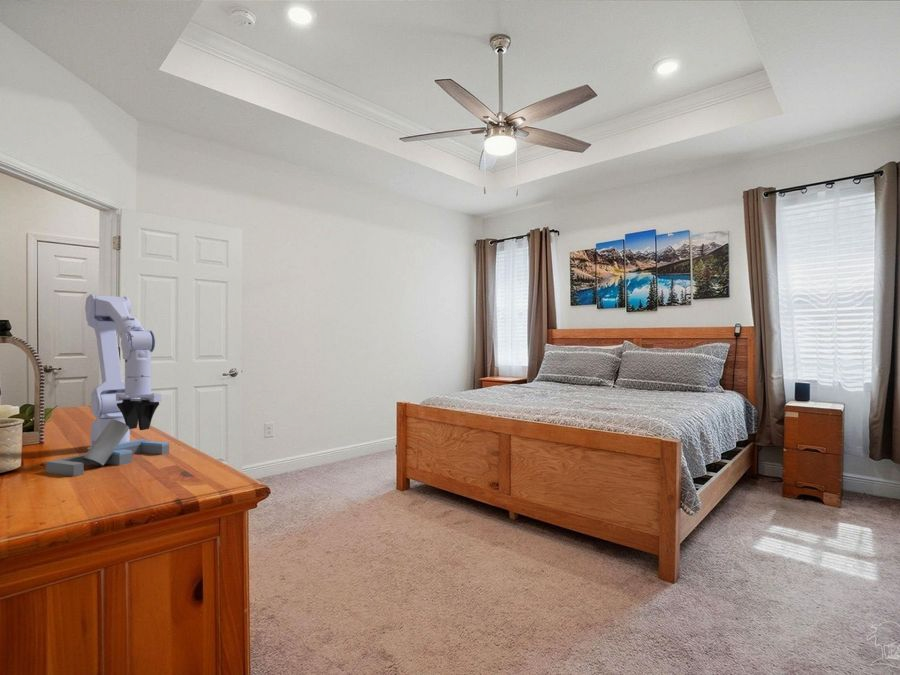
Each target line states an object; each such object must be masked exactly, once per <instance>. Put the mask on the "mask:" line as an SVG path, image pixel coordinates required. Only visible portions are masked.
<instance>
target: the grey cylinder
mask: <svg viewBox="0 0 900 675" xmlns="http://www.w3.org/2000/svg"><path fill="white" fill-rule="evenodd" d="M128 430H129V426H127V425H126V424H124V423H122V422H120V421H117V420H111V421H110V422H109V423H108V425H107V426H106V427H105V429H104V430H103V432H102V433H101V434H100V436H99V437H98V438H97V440H96V441H95V442H94V444H93V445H92V446H91V445H90V447H91V448H90V449H88V451H87V452H86V453H85V454H86V455H85V456H84V458H83V459H84V460H85V461H87V462H89V463H91V464H90V465H94V466H98V467H103V466H104V465H105V464H106V461H107V460H108V458H109V457H110V455H111V454H112V453H113V451H114V450H115V448H116V447H117V445H118V444H119V443H120V441H121V440H122V438H123V437H124V435H125V434H126V433H127V431H128Z"/></svg>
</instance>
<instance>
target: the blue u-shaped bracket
mask: <svg viewBox="0 0 900 675" xmlns="http://www.w3.org/2000/svg"><path fill="white" fill-rule="evenodd" d="M141 444H143V445H154V446H165V445H169V446H170V442H167V441H157V440H155V441H154V440H147V439H143V438H141V439H135V440H130V442H124V443H119V444H118V445H117V447H116V448H115V450H114V451H113V453H112V455H123V454H128V453H132V450H124V449H121V448H126V447H131V446H136V445H141Z"/></svg>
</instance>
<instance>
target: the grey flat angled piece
mask: <svg viewBox="0 0 900 675" xmlns="http://www.w3.org/2000/svg"><path fill="white" fill-rule="evenodd" d="M121 449H124V450H132V453H128V454H123V455H112V454H111V455H110V457H109V458H108V460H107V461H106V463H105V464H107V465H116V466H123V465H126V464H131V463H133V455H135V454H139V453H144V454H152V455H161V456H162V455H167V454H170V444H169V445H165V446H154V445H143V444H141V445H136V446H131V447H126V448H121ZM85 455H86V453H83V454H77V455H75V456H74V455H73V456H68V457H64V458H59V459H53V460H48V461H46V463H45V465H46V466H45V467H46V468H45V472H46V473H48V474H55V475H62V476H63V475H64V476H68V477H69V476H70V477H77V476H81V475H84V470H85V469H84V466H88V465H92V464H91V463H89V462H87V461H85V460H84V459H83V458H84V456H85Z"/></svg>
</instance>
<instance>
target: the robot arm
mask: <svg viewBox="0 0 900 675" xmlns="http://www.w3.org/2000/svg"><path fill="white" fill-rule="evenodd" d="M84 306H85V307H84V308H85V309H84V310H85V319H86V323H87V326H89V327H91V328H93V329H94V333H95V336H96V345H97V351H98V352H97V353H98V359H99V360H98V361H99V369H100V375H101V378H100V379H101V383H100V384H98V386H95V388H94V389H92V391H91V394H90V399H91V400H90V410H91V413H92V415H93V416H94V417H95V419H94V420H93V421H92V422H91V425H90V446H89V447H87V450H89V449H90V448H91V446H92V445H93V444H94V442H95V441H96V440H97V438H98V437H99V436H100V434H101V433H102V432H103V430H104V429H105V427H106V426H107V425H108V423H109V422H110V421H111V420H117V421H120V422H122V423H124V424H126V425H127V426H129V430H128V431H127V433H126V434H125V435H124V437H123V438H122V440H121V441H120V443H124V442H130V441H131V430H134V429H137V428H138V429H139V431H145V430H149V429H150V426H151V423H152V420H153V416H154V414H155V412H156V410H157V408H158V407H159V405H160V402H162V393H156V392H155V393H154V392H152V353H153V352H154V350H155V347H156V337H155V333H154V331H152V330H149V329H144V326H142V324H141V322H140V321H139V319H137V318H136V317H135V315H131V314H130V313H131V311H132V310H131V309H132V303H131V300H130V299H129V297H128V296H115V295H113V296H112V295H101V294H100V295H98V294H96V295H95V294H93V293H92V294H91V293H90V294H89V295H87V297H86V300H85V305H84ZM117 334H118V337H119V338H120V347H121V351H122V352H121V353H122V359H123V360H124V380H123V374H122V367H121V358H120V353H119V351H120V350H119V346H118V338H117Z"/></svg>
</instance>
